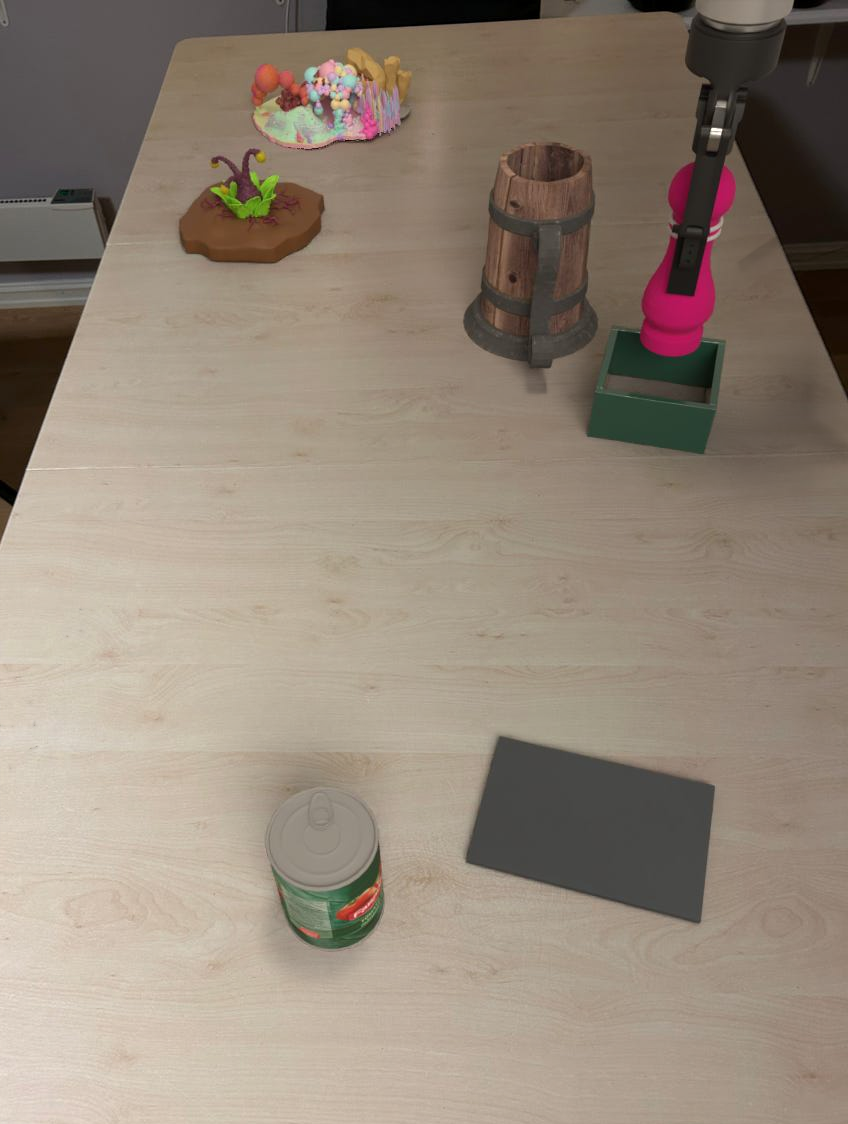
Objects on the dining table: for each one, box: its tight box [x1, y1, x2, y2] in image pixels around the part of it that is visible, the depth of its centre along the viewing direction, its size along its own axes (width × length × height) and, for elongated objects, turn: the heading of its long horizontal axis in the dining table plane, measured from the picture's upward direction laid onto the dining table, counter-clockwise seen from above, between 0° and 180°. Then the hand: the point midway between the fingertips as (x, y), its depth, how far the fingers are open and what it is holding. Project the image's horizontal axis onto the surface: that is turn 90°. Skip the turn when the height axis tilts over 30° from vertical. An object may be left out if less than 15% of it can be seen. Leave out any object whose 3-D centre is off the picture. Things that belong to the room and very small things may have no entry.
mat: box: [465, 735, 716, 924], centre depth 78 cm, size 18×12×1 cm, turn 73°
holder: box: [587, 325, 727, 455], centre depth 108 cm, size 13×13×6 cm
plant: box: [178, 147, 326, 264], centre depth 135 cm, size 20×20×11 cm
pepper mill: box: [640, 161, 737, 357], centre depth 95 cm, size 7×7×20 cm
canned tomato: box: [264, 785, 386, 952], centre depth 71 cm, size 8×8×11 cm
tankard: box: [463, 141, 599, 370], centre depth 112 cm, size 24×17×20 cm
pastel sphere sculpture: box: [250, 46, 413, 150], centre depth 157 cm, size 25×24×9 cm
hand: (683, 276), depth 97 cm, fingers closed on pepper mill, 5 cm apart
